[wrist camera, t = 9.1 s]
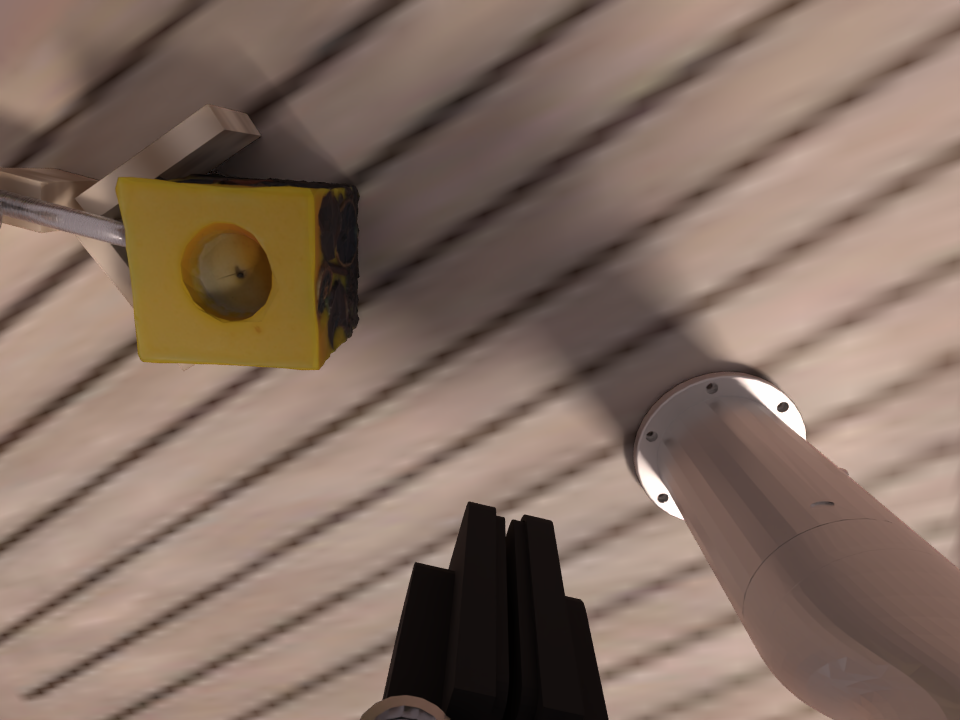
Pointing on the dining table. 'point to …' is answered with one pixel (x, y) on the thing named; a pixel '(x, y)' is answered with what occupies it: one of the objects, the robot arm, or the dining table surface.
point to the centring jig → (169, 157)
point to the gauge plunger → (61, 218)
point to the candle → (241, 269)
